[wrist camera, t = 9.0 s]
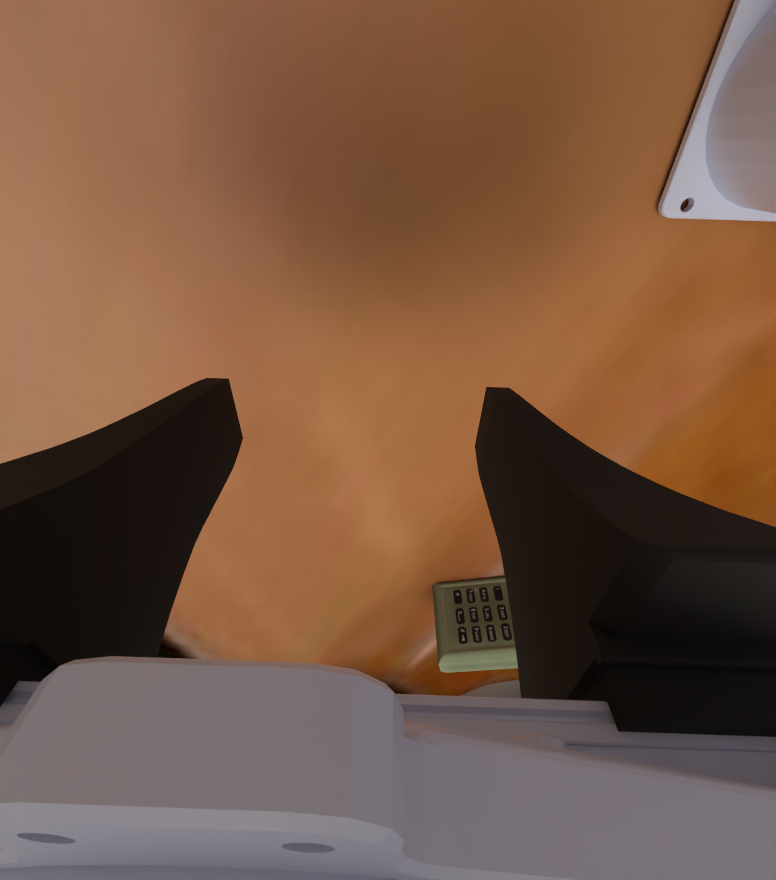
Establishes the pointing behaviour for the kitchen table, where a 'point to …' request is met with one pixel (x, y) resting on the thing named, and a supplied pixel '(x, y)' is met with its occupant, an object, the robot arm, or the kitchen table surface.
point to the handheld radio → (474, 625)
